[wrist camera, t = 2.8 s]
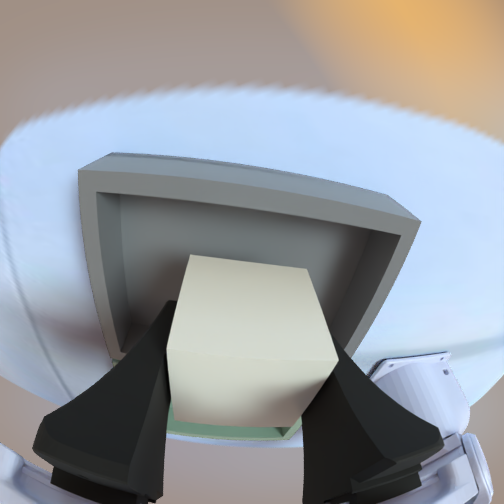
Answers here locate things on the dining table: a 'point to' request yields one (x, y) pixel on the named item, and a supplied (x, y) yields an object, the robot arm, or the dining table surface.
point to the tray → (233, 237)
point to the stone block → (246, 344)
